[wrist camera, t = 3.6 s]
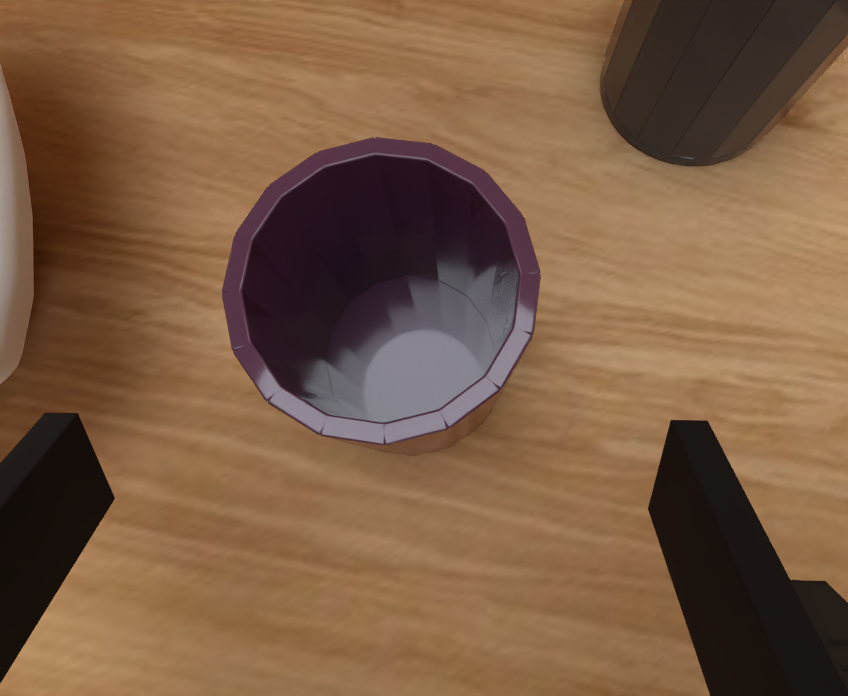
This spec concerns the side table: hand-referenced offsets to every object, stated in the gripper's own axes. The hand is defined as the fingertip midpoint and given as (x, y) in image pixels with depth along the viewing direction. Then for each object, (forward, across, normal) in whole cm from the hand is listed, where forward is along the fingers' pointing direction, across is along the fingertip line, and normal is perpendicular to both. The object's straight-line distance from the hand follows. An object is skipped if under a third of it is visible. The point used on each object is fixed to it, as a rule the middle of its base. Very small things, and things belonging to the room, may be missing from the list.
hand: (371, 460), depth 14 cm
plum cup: (+10, 0, +4) cm, 10 cm away
